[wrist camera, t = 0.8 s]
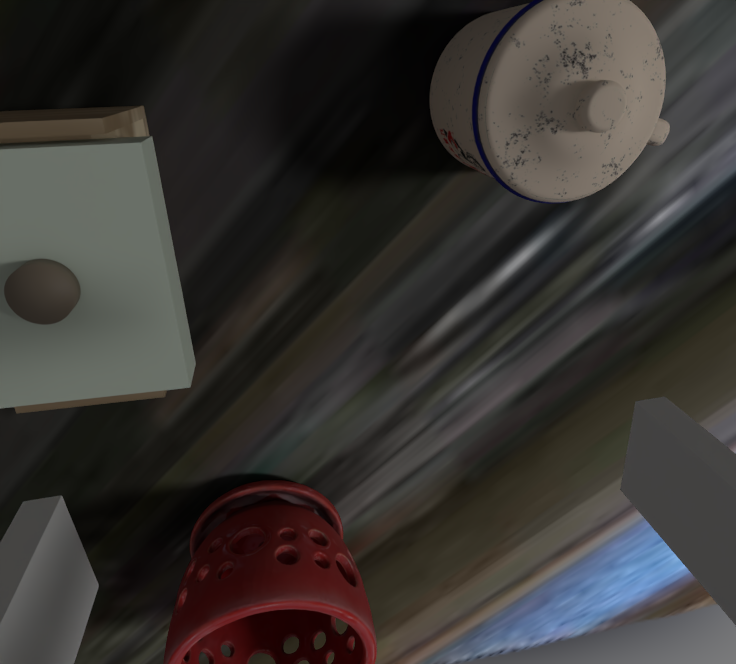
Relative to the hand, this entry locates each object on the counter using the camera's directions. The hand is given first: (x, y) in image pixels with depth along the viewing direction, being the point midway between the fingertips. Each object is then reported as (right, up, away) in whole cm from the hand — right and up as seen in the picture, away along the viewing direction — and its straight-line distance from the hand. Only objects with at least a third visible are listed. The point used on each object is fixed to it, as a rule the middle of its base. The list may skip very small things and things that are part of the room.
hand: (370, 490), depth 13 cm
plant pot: (-8, -12, +31) cm, 34 cm away
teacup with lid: (+9, +18, +20) cm, 28 cm away
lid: (-14, +7, +13) cm, 20 cm away
